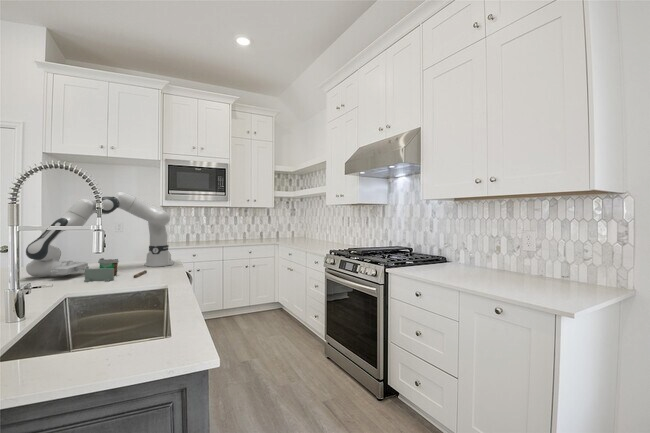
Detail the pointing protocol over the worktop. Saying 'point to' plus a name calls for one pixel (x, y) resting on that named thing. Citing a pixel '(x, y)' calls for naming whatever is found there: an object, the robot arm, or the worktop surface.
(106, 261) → the food container
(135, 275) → the rail
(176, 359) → the worktop surface
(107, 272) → the screen
